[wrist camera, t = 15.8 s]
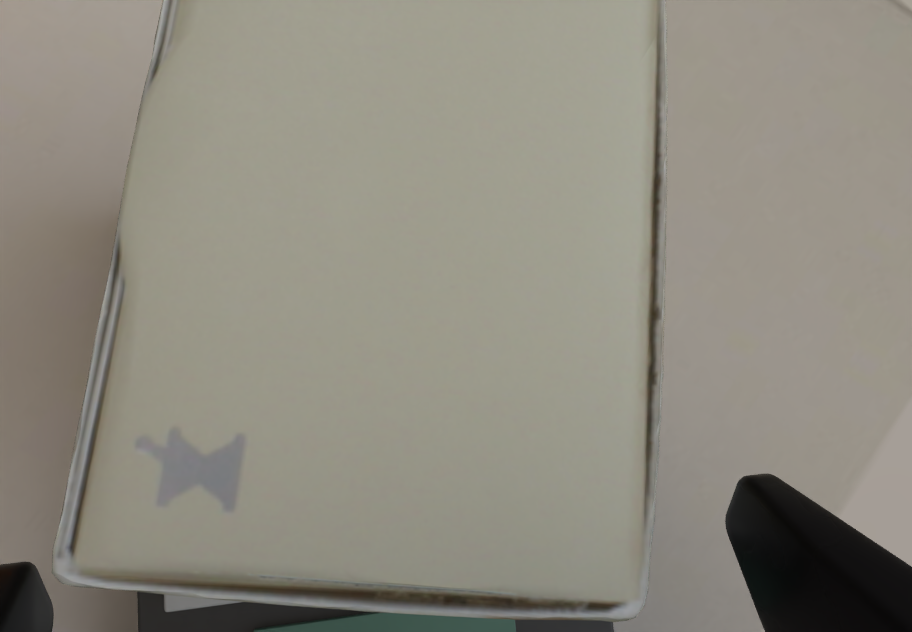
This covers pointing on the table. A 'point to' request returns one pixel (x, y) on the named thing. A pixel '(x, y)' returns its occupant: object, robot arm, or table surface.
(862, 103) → the table surface
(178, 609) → the scale
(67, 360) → the table surface
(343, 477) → the cosmetic box
